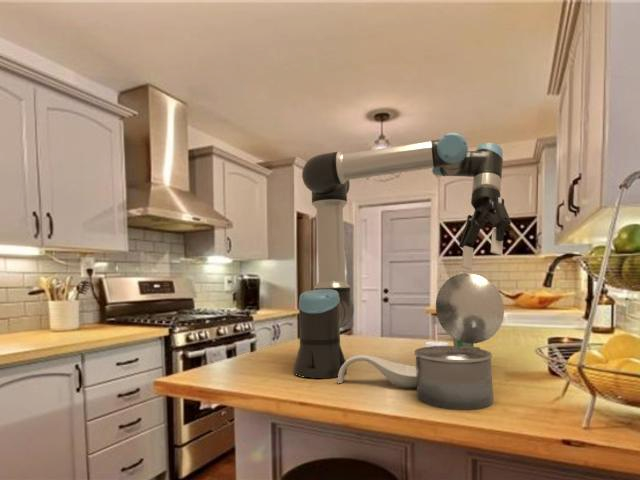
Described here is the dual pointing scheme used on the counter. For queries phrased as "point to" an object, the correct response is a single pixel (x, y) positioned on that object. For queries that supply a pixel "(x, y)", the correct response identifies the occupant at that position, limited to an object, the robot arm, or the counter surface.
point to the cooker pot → (454, 377)
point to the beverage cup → (436, 343)
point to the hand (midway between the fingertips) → (480, 261)
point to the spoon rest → (385, 370)
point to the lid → (469, 308)
